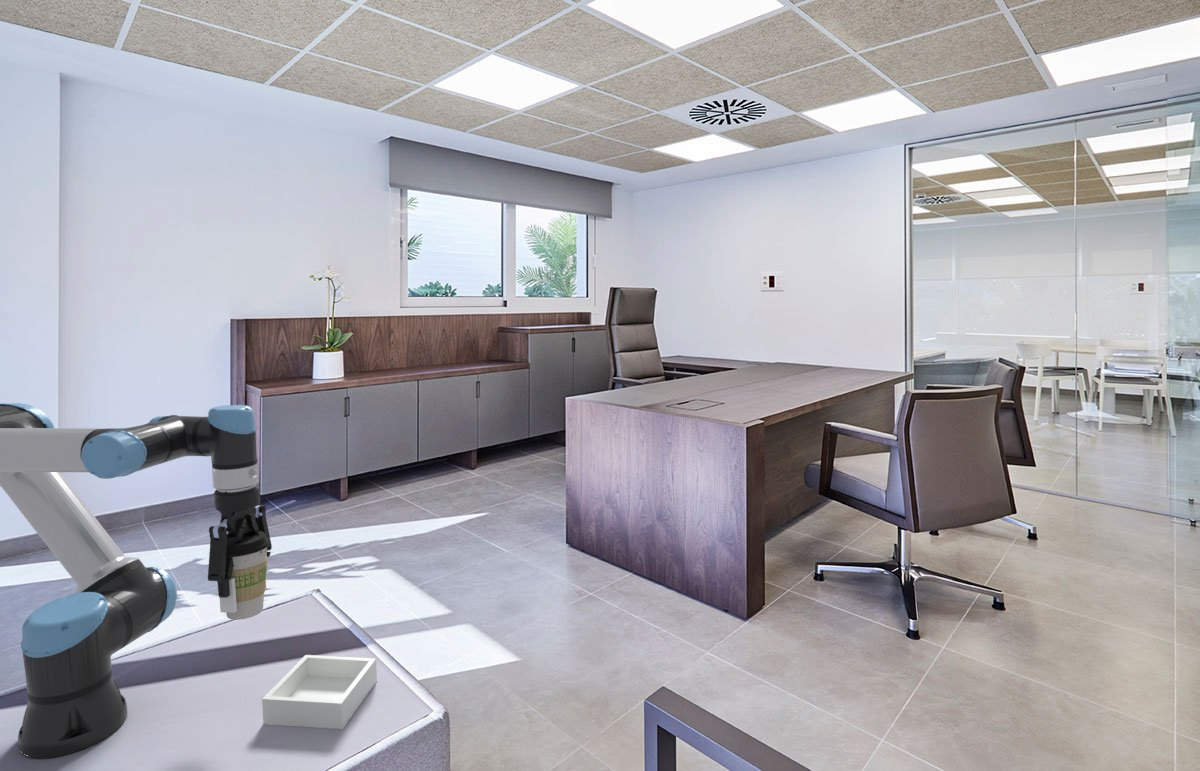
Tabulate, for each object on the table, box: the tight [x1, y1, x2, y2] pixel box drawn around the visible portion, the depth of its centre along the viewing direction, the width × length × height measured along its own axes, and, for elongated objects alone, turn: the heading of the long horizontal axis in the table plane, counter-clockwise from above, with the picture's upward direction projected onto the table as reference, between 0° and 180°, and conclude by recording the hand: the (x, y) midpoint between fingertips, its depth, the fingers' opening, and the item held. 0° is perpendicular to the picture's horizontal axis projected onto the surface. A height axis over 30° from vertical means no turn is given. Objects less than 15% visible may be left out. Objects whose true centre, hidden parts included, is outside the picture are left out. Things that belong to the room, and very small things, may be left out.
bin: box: [261, 654, 378, 730], centre depth 124 cm, size 15×15×5 cm
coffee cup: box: [225, 531, 270, 621], centre depth 123 cm, size 10×10×15 cm
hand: (244, 600), depth 124 cm, fingers closed on coffee cup, 9 cm apart
